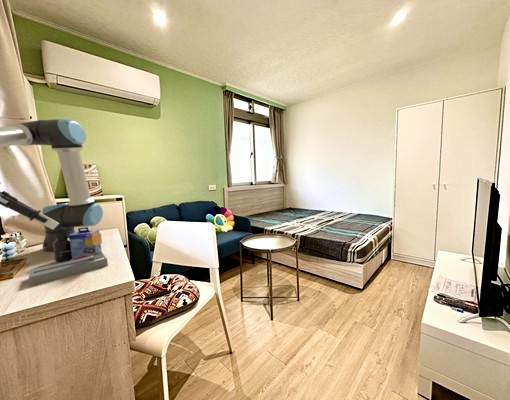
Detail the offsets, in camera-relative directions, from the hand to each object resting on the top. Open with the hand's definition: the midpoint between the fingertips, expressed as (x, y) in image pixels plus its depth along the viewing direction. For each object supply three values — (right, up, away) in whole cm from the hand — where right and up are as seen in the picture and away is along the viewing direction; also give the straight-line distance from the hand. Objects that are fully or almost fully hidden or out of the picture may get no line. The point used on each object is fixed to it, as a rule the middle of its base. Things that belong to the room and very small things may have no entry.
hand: (55, 226), depth 80 cm
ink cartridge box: (-2, -17, +17) cm, 24 cm away
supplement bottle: (-11, -17, +17) cm, 26 cm away
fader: (+9, -14, +9) cm, 19 cm away
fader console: (+3, -18, +4) cm, 18 cm away
